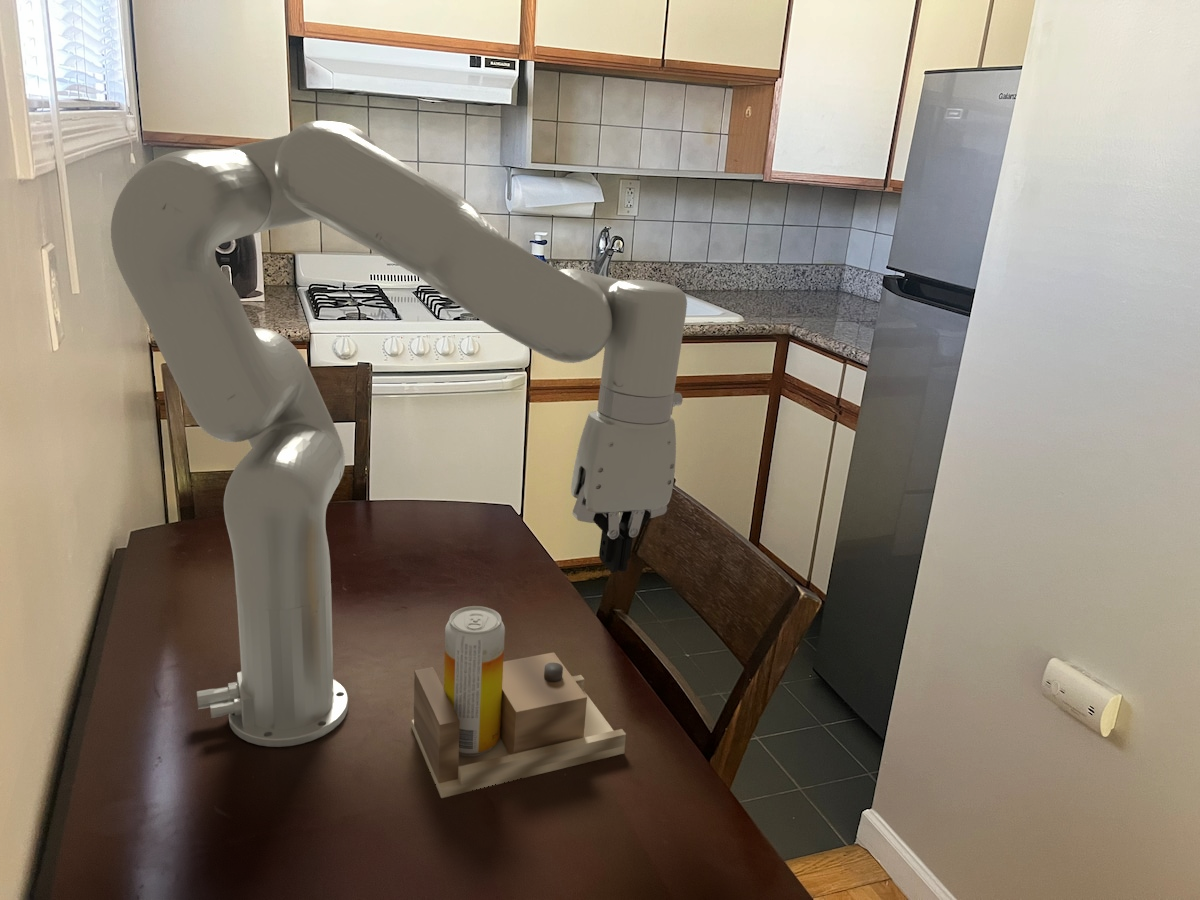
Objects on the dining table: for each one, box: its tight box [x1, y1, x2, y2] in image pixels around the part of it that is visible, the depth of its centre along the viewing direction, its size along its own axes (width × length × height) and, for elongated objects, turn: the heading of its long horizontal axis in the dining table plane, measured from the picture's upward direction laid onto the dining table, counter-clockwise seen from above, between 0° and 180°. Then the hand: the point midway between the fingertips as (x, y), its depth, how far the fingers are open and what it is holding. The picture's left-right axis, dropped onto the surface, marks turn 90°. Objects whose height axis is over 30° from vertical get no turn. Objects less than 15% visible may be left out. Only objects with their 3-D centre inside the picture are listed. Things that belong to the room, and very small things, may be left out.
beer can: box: [443, 605, 506, 757], centre depth 94 cm, size 6×6×15 cm
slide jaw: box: [500, 652, 587, 755], centre depth 98 cm, size 8×9×7 cm
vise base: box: [411, 666, 627, 799], centre depth 97 cm, size 20×12×8 cm, turn 115°
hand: (613, 566), depth 97 cm, fingers closed
